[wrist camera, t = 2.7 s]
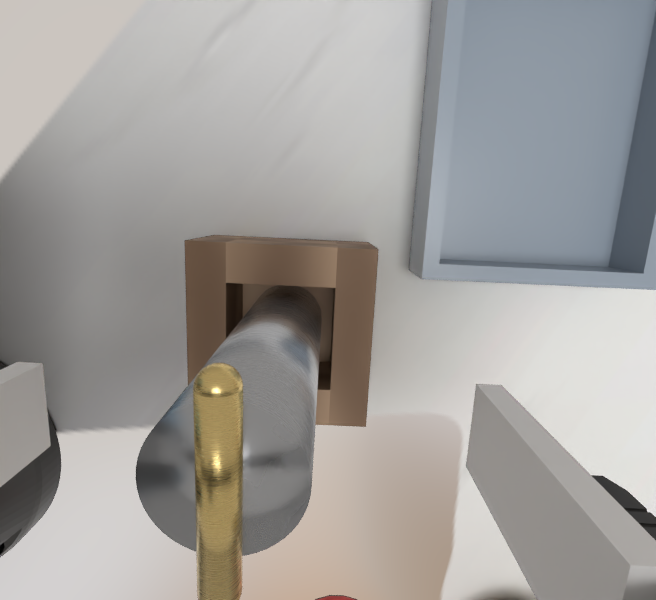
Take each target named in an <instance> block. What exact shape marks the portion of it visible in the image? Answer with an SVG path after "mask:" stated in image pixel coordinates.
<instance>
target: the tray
mask: <svg viewBox="0 0 656 600" xmlns="http://www.w3.org/2000/svg"><path fill="white" fill-rule="evenodd" d="M409 270H410V271H411V272H413V273H414V274H415V275H417V276H418V277H420V278H421V279H433V280H454V281H476V282H497V283H519V284H540V285H562V286H583V287H605V288H626V289H647V290H656V0H432V9H431V21H430V32H429V44H428V55H427V67H426V78H425V90H424V101H423V113H422V124H421V136H420V147H419V159H418V170H417V182H416V193H415V205H414V216H413V228H412V239H411V251H410V262H409Z"/></svg>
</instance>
